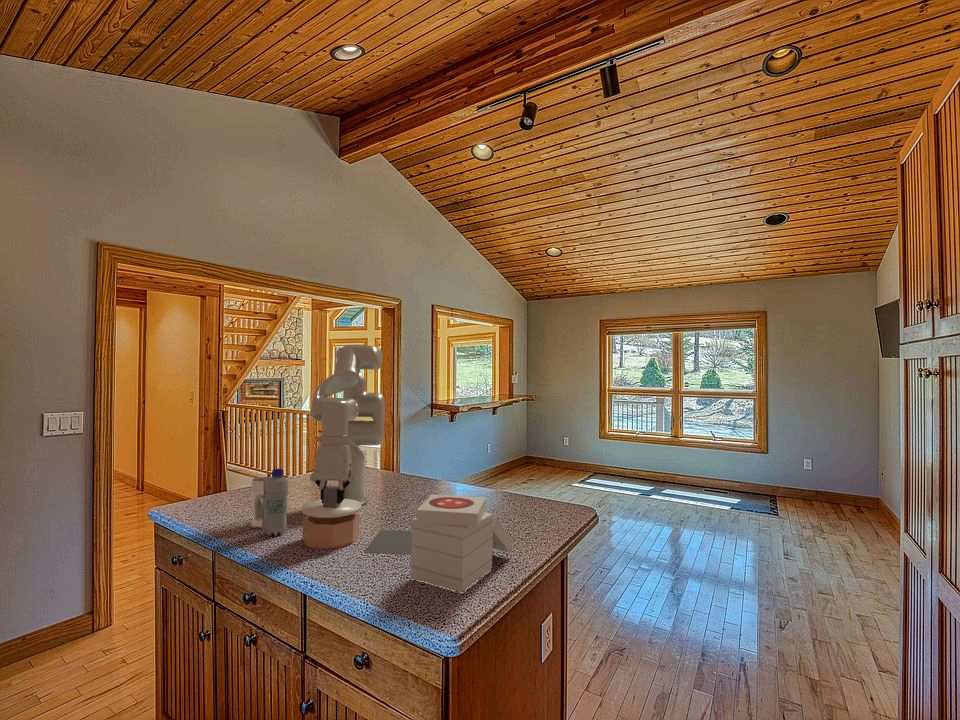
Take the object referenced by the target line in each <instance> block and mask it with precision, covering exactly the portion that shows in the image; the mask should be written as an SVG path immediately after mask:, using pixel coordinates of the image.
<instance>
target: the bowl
mask: <svg viewBox="0 0 960 720" xmlns="http://www.w3.org/2000/svg"><path fill="white" fill-rule="evenodd" d="M360 519H361V516H360V514H359V513H358V512H356V513H354V514H351V515H347V516H342V517H332V518H318V517H310V516H307V515H306V516H305V517H304V518H303V519H302V537H301V538H302V539H301V540H302V541H303V543H304V546H305V545H306V546H307V547H306V546H305V547H306V548H308V547H309V549H311V548H312V550H316V549H334V548H340V547H341V548H342V547H344V546H347V545H351V544H352V543H355V542H356V541H357V539H358V537H359V536H360V522H361V521H360Z"/></svg>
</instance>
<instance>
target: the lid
mask: <svg viewBox="0 0 960 720" xmlns="http://www.w3.org/2000/svg"><path fill="white" fill-rule="evenodd" d="M338 490H339V486H338V485H328V486H327V487H326V488H324V496H323V503H322V500H321V499H318V500H312V501H310V502H307V503H305V504H303V505H302V507H301V513H302V514H303V515H304V516H306V517H307V516H310V517H318V518H332V517H342V516H347V515H351V514H354V513H359V512H360V511H361V509H362V506H361V503H360V502H359V501H356V500H352V499H344V500H343V502H341V503H340V504H338V503H337V496H338Z"/></svg>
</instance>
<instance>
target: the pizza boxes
mask: <svg viewBox="0 0 960 720" xmlns="http://www.w3.org/2000/svg"><path fill="white" fill-rule="evenodd" d="M486 510H487V497H483V496H481V497H480V496H466V495H465V496H463V495H449V494H448V495H446V494H433V493H432V494H430V496H428V497H427V499H426V500H425V501H424V502H422V503H421V505H420V506H419V507H418V508H417V509H416V517H413V518H411V531H412V546H411V555H410V579H411V578H412V579H415V580H420V581H424V582H428V583H431V584H434V585H438V586H442V587H445V588H449V589H452V590H456V591H460V592H463V591H464V590H465V589H466V588H467V587H469V586H470V585H471V584H472V583H474V582H475V581H476V580H477V579H479V578H480V577H481V576H482V575H484V574H485V573H486V572H487V571H489V570H490V569H491V568H492V569H493V549H494V550H497V551H503V552H505V553H506V552H507V553H511V551H512V548H513V545H514V540H513V539H512V537H511V536H510V534H509V533H508V531H507V530H506V529H505V528H504V527H503V526H502V524H501V523H500V521H499V520H498V518H497V517H494V513H491V512H490V513H489V512H486ZM479 580H480V579H479Z"/></svg>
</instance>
